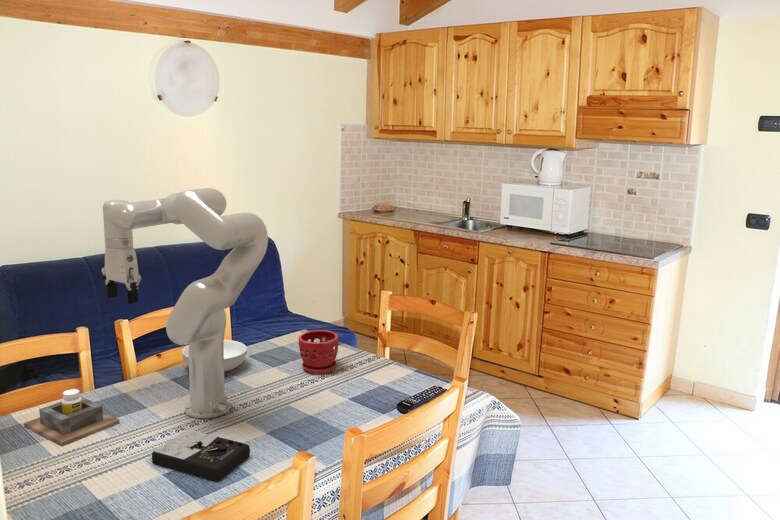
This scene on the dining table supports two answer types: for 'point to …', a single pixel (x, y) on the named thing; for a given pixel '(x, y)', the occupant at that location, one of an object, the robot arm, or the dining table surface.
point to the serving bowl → (226, 354)
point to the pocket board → (72, 434)
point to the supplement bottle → (71, 401)
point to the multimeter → (201, 455)
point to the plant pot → (318, 351)
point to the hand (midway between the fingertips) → (122, 300)
